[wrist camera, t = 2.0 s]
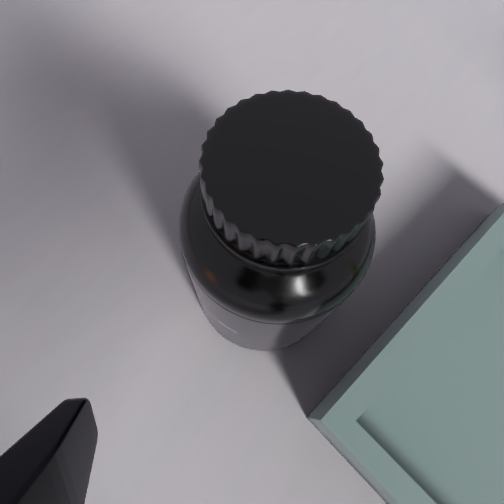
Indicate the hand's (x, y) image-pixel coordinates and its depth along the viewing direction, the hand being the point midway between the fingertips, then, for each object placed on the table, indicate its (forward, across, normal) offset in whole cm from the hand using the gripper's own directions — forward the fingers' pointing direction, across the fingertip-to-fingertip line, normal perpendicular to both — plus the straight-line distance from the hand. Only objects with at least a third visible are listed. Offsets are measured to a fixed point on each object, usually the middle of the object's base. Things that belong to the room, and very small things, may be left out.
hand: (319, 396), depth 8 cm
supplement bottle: (+13, 0, +5) cm, 13 cm away
